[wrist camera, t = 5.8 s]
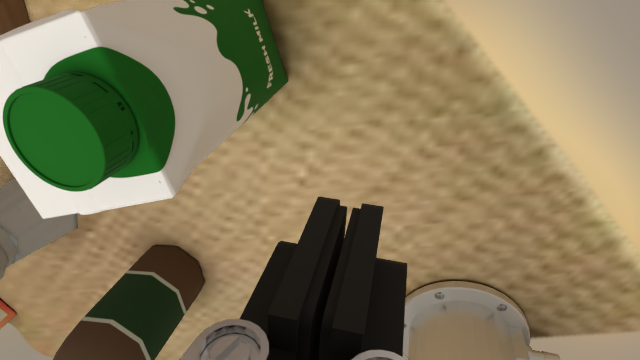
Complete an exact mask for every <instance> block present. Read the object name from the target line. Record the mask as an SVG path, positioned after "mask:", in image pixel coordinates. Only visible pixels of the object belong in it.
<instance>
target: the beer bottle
mask: <svg viewBox="0 0 640 360" xmlns="http://www.w3.org/2000/svg"><path fill="white" fill-rule="evenodd" d="M203 285H204V279H203V276H202V273H201V270H200V266H199V263H198V261H196V260H195V259H194V258H192V257H191V256H189V255H188V254H187V253H185V252H184V251H183V250H181V249H180V248H179V247H175V246H152V247H151V248H150V249H149V250H148V251H147V252H146V253H145V254H144V255H142V256H141V258H140V259H139V260H138V261H137V262H136V263H135V264H134V265H133V266H132V267H131V268H130V269H129V270H128V271H127V272H126V273H125V274H124V275H123V276H122V278H121V279H120V280H119V281H118V282H117V283H116V284H115V285H114V286H113V287H112V288H111V289H110V290H109V291H108V292H107V293H106V294H105V295H104V297H103V298H102V299H101V300H100V301H99V302H98V303H97V304H96V305H95V306H94V307H93V308H92V309H91V310H90V311H89V312H88V313H87V314H86V316H85V317H84V318H83V319H82V320H81V321H80V322H79V323H78V325H77V326H76V327H75V328H74V329H73V331H72V332H71V333H70V334H69V335H68V337H67V338H66V339H65V341H64V342H63V344H62V345H61V347H60V348H59V349H58V351H57V352H56V354H55V357H54V359H53V360H155V358H156V357H157V355H158V354H159V352H160V351H161V349H162V348H163V346H164V345H165V343H166V342H167V340H168V339H169V337H170V336H171V334H172V333H173V331H174V330H175V328H176V327H177V325H178V324H179V322H180V321H181V319H182V318H183V316H184V315H185V313H186V312H187V310H188V309H189V307H190V306H191V304H192V303H193V302H194V300H195V299H196V297H197V296H198V294H199V292H200V290H201V289H202V287H203Z"/></svg>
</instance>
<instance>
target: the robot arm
mask: <svg viewBox="0 0 640 360" xmlns="http://www.w3.org/2000/svg"><path fill="white" fill-rule="evenodd" d="M382 214H383V207H382V206H376V205H369V204H362V206H361V209H359V208H353V210H352V213H351V217H350V221H349V224H348V228H347V231H346V235H345V226H346V215H347V207H346V206H340V200H338V199H331V198H325V197H318V198H317V201H316V203H315V205H314V208H313V210H312V212H311V214H310V217H309V219H308V221H307V224H306V226H305V228H304V231H303V233H302V235H301V238H300V240H299V242H298V244H296V243H290V242H284V241H280V242H279V243H278V244H277V246H276V248H275V250H274V252H273V254H272V256H271V258H270V260H269V262H268V264H267V266H266V268H265V270H264V272H263V274H262V276H261V278H260V280H259V282H258V284H257V286H256V288H255V290H254V292H253V294H252V296H251V298H250V300H249V302H248V303H247V305H246V307H245V309H244V311H243V313H242V315H241V317H240V319H227V320H224V321H221V322H217V323H215V324H213V325H211V326H210V327H208V328H206V329H205V330H204V331H203V332H202V333H201V334H200V335H199V336H198V337H197V338H196V339H195V340H194V342H193V343H192V344H191V345H190V347H189V348H188V349H187V350H186V352H185V353H184V354H183V355H182V357H181V358H180V359H179V360H407V359H405V358H404V357H402V356H403V354H404V355H405V356H407V358H408V360H560V357H559V355H557V354H552V353H548V352H543V351H542V352H539V351H534V350H532V349H531V347H530V346H529V343H530V331H529V327H528V324H527V320H526V318H525V316H524V314H523V312H522V310H521V309H520V308H519V307H518V306H517V305H516V304H515V302H514V301H512V300H511V299H510V298H508V297H507V296H506V295H504V294H503V293H501V292H499V291H497V290H495V289H493V288H490V287H487V286H484V285H481V284H477V283H471V282H465V281H447V282H438V283H434V284H430V285H427V286H424V287H422V288H420V289H417V290H416V291H414V292H413V293H411V294H410V295H408V296H407V297H406V279H407V263H402V262H397V261H391V260H385V259H380V258H376V255H377V248H378V241H379V234H380V228H381V221H382ZM344 236H345V239H344Z"/></svg>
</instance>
